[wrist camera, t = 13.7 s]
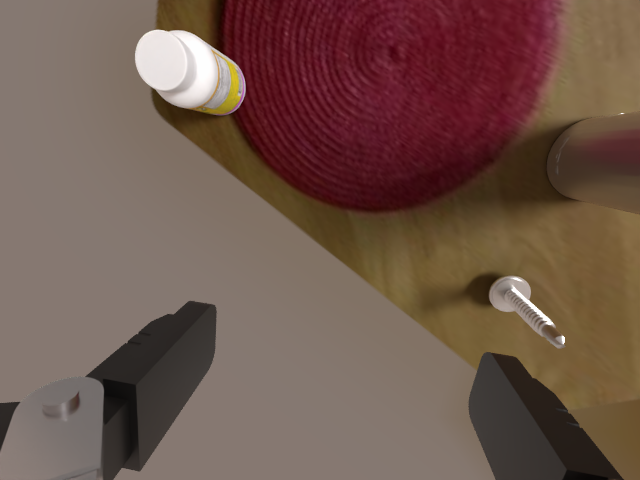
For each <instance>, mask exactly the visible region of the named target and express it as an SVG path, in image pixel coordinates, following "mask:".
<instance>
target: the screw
mask: <svg viewBox="0 0 640 480" xmlns="http://www.w3.org/2000/svg"><path fill="white" fill-rule="evenodd" d="M530 295H531V290H530V286H529V284H528V283H527V282H526V281H525V280H524V279H522V278H521V277H518V276H515V275H507V276H503V277H501V278H499V279H497V280H496V281H495V282H494V283H493V284H492V285H491V287H490V289H489V293H488V296H489V300H490V302H491V303H492V305H493V306H494V307H495V308H497V309H499V310H501V311H505V312H511V311H516V312H517V313H518V314H519V315H520V316H521V317H522V318H523V319H524V320H525V321H526V322H527V323H528V324H529V325H530V327H531V328H533V330H534V331H536V332H537V333H538V334H539V335H541V336H544V337H545V338H546V339H547V340H548V341H549V342H550V343H551V344H553V345H554V346H555V347H557V348H563V347H565V345H564V341H565V338H564V337H563V335H562V334H561V333H560V332H559V331H558V330H557V329H556V328H555V325H554V323H552V321H551V320H550V319H549V318H548V317H547V316H545V314H543V313H542V312H541V311H540V310H539V309H538V308H536V306H534V305H533V304H532V303H531V302H530V301H528V300H529V298H530Z"/></svg>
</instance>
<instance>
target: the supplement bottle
mask: <svg viewBox="0 0 640 480" xmlns="http://www.w3.org/2000/svg"><path fill="white" fill-rule="evenodd" d="M135 62H136V67H137V70H138V72H139V74H140V76H141V77H142V79H143V80H144V81H145V82H146V83H147V84H148V85H149V86H151V87H152V88H154V89H156V91H157V92H158V93H159V94H160V95H161V97H163V98H164V99H165V100H166V101H168V102H169V103H171V104H173V105H175V106H178V107H182V108H187V109H191V110H196V111H200V112H204V113H209V114H214V115H227V114H230V113H232V112H234V111H235V110H236V109H237V108H238V107H239V106H240V105H241V103H242V101H243V99H244V96H245V80H244V77H243V74H242V72H241V70H240V69H239V67H238V66H237V65H236V64H235V63H234V62H233V61H232V60H230V59H229V58H228V57H226V56H225V55H223V54H222V53H220V52H219V51H217V50H216V49H214V48H213V47H211V46H210V45H209V44H207V43H206V42H204V41H203V40H201V39H200V38H199V37H197V36H196V35H194V34H192V33H189V32H186V31H180V30H176V31H170V32H167V31H163V30H153V31H150V32H148V33H146V34H145V35H144V36H143V37H142V38H141V39H140V41H139V42H138V45H137V48H136V52H135Z"/></svg>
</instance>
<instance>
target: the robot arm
mask: <svg viewBox="0 0 640 480" xmlns="http://www.w3.org/2000/svg"><path fill="white" fill-rule="evenodd" d="M547 174H548V178H549V180H550V182H551V184H552V186H553V187H554V188H555V189H556V190H557V191H558V192H559V193H561V194H562V195H564V196H566V197H569V198H572V199H575V200H580V201H584V202H588V203H593V204H596V205H601V206H605V207H609V208H614V209H618V210H623V211H627V212H631V213H636V214H640V111H639V112H632V113H623V114H616V115H608V116H601V117H593V118H589V119H585V120H582V121H580V122H578V123H576V124H574V125H572V126H570V127H569V128H568V129H566V130H565V131H564V132H563V133H562V134H561V135H560V136H559V137H558V138H557V140H556V141H555V143H554V144H553V145H552V147H551V150H550V152H549V155H548V159H547ZM215 337H216V307H215V305H212V304H207V303H200V302H195V301H189V302H187V303H186V304H185V305H184V306H183V307H182V308H180V309H179V310H178V311H177V312H176V313H175V314H174V315H172V314H167V315H165V316H163V317H160V318H159V319H156V320H154V321H152V322H150V323H149V324H148V325H147V326H145V327H144V328H143V329H142V330H141V331H140V332H139V333H138V334H136V335H135V336H133V337H132V338H131V339H130V340H129V341H128V343H127V344H126V343H125V344H124V345H123V346H121V347H120V348H119V349H118V350H117V351H115V352H114V353H113V354H112V355H111V356H110V357H108V358H107V359H106V360H105V361H103V362H102V363H101V364H100V365H99V366H97V367H96V368H95V369H94V370H93V371H92V372H90V373H89V374H88V375H87V376H85V377H71V378H66V379H61V380H58V381H55V382H52V383H49V384H47V385H45V386H43V387H41V388H39V389H37V390H35V391H34V392H32V393H31V394H29V395H28V396H27V397H25V398H24V399H23V400H22V401H21V402H11V403H0V480H113V479H114V478H115V476H116V475H117V473H118V472H119V471H120V470H121V468H126V469H131V470H135V471H141V469H142V468H143V466H144V465H145V463H146V462H147V460H148V459H149V457H150V456H151V454H152V453H153V452H154V450H155V448H156V447H157V446H158V444H159V443H160V441H161V440H162V438H163V437H164V435H165V434H166V432H167V431H168V429H169V428H170V426H171V425H172V423H173V422H174V420H175V419H176V417H177V416H178V415H179V413H180V411H181V410H182V409H183V407H184V405H185V404H186V403H187V401H188V400H189V398H190V397H191V395H192V394H193V392H194V391H195V389H196V388H197V386H198V385H199V383H200V382H201V380H202V379H203V377H204V376H205V375H206V373H207V371H208V370H209V368H210V366H211V364H212V361H213V357H214V353H215ZM469 414H470V418H471V421H472V424H473V426H474V428H475V431H476V433H477V436H478V438H479V441H480V443H481V445H482V448H483V450H484V452H485V455H486V457H487V460H488V462H489V464H490V467H491V469H492V472H493V474H494V476H495V479H496V480H624V479H623V478H622V477H621V476H620V475H619V473H618V472H617V471H616V470H615V468H614V467H613V466H612V465H611V463H610V462H609V461H608V460H607V458H606V457H605V456H604V455H603V454H602V452H601V451H600V450H599V448H598V447H597V446H596V445H595V443H594V442H593V441H592V440H591V439H590V437H589V436H588V435H587V434H586V432H585V431H584V430H583V428H580V427H579V424H578V422H577V421H576V420H575V419H574V417H573V416H572V415H571V414H569V413H568V410H567V409H566V407H565V406H564V405H563V404H562V402H561V401H560V400H559V399H558V397H557V396H556V395H555V394H554V393H553V392H552V391H550V390H549V389H548V388H547V387H545V386H544V385H543V384H542V383H540V382H539V381H538V380H537V379H534V378H532V377H531V375H530V374H529V373H528V371H527V370H526V369H525V368H524V366H523V365H522V364H521V362H520V361H519V360H518V359H517V358H516V357H513V356H508V355H502V354H496V353H490V352H486V353H484V354H483V356H482V358H481V361H480V364H479V367H478V370H477V374H476V377H475V380H474V383H473V387H472V390H471V393H470V397H469Z"/></svg>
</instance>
